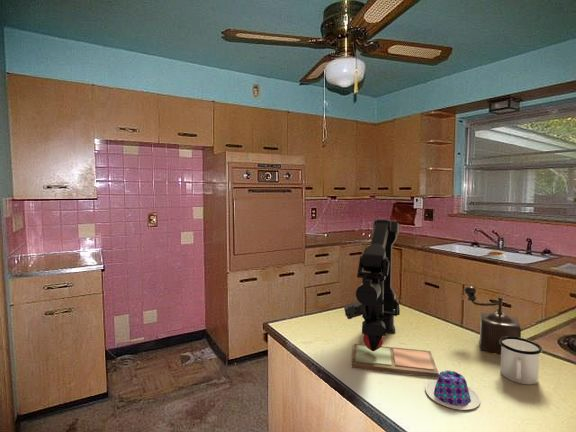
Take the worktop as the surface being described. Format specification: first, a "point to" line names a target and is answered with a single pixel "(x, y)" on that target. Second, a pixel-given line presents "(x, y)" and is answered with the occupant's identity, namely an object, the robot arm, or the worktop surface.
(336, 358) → the worktop surface
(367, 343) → the onion
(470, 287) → the brown coffee grinder
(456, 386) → the pudding
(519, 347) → the mug
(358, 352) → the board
